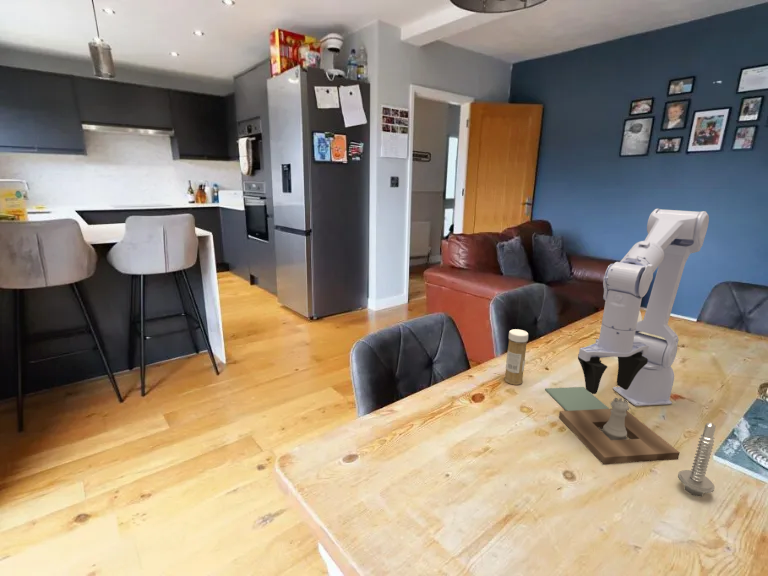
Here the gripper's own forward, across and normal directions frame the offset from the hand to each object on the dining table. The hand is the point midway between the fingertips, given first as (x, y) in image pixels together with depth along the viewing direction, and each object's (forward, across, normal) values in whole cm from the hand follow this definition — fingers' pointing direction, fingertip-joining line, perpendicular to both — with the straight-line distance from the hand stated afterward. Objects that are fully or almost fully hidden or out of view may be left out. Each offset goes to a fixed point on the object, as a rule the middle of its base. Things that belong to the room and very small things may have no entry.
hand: (606, 389), depth 80 cm
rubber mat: (+10, -4, -11) cm, 15 cm away
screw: (+10, -3, +18) cm, 20 cm away
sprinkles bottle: (+10, +6, -23) cm, 25 cm away
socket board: (+10, -1, +2) cm, 10 cm away
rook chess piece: (+10, -1, +2) cm, 10 cm away
